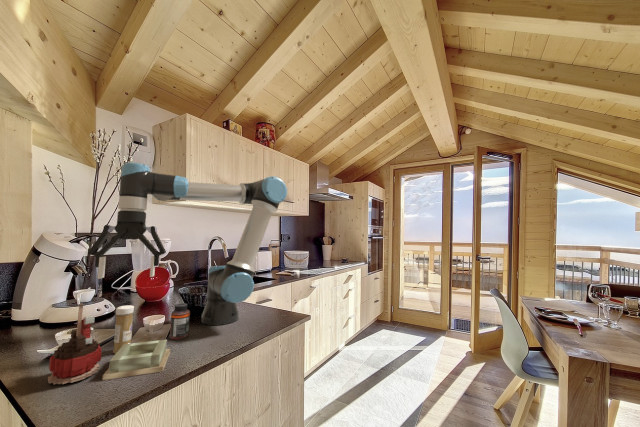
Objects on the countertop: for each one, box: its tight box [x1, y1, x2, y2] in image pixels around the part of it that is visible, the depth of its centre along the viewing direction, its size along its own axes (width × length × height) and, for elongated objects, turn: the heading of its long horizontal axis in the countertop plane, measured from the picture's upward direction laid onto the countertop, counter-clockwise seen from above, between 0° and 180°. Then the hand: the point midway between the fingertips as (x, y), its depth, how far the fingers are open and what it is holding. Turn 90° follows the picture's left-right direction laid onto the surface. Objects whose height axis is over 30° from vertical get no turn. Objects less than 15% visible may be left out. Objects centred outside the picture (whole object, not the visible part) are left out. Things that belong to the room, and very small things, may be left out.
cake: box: [47, 303, 103, 385], centre depth 67 cm, size 11×9×18 cm
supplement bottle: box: [169, 302, 191, 341], centre depth 94 cm, size 6×6×11 cm
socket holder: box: [102, 339, 171, 381], centre depth 73 cm, size 13×12×4 cm
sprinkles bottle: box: [112, 305, 135, 355], centre depth 82 cm, size 5×5×13 cm
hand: (127, 277), depth 83 cm, fingers open, 13 cm apart
